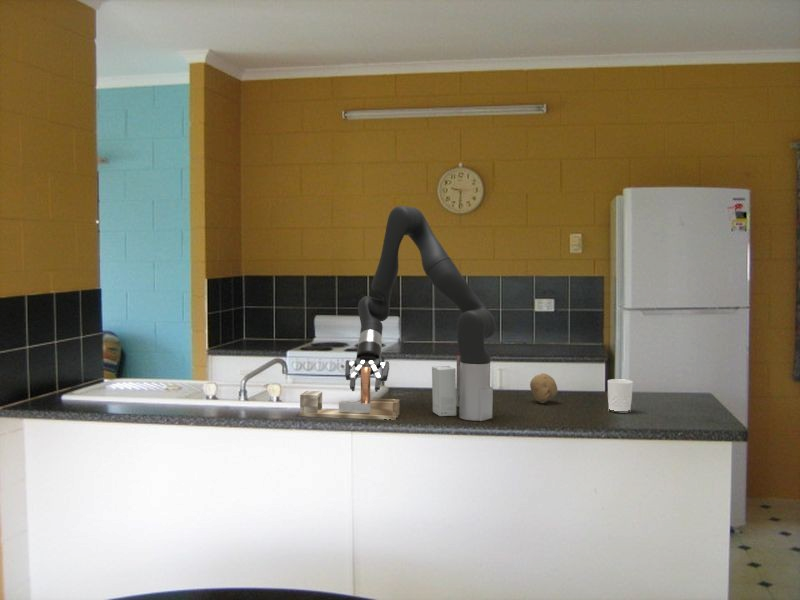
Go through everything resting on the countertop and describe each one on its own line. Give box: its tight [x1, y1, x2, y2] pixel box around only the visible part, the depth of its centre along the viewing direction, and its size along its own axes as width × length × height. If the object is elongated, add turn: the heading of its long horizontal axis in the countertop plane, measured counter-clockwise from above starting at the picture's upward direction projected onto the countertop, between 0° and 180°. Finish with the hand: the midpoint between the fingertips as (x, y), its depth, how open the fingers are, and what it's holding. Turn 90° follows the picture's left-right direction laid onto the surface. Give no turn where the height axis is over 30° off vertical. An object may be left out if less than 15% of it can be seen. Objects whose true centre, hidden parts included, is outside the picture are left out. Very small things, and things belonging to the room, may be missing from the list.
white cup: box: [607, 378, 634, 411], centre depth 261 cm, size 8×8×10 cm
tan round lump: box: [529, 373, 558, 403], centre depth 275 cm, size 9×9×10 cm
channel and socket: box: [298, 390, 400, 421], centre depth 251 cm, size 30×8×7 cm, turn 82°
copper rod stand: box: [338, 367, 371, 413], centre depth 250 cm, size 16×3×14 cm, turn 82°
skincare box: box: [431, 365, 457, 417], centre depth 255 cm, size 8×6×15 cm
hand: (364, 389), depth 248 cm, fingers open, 6 cm apart
